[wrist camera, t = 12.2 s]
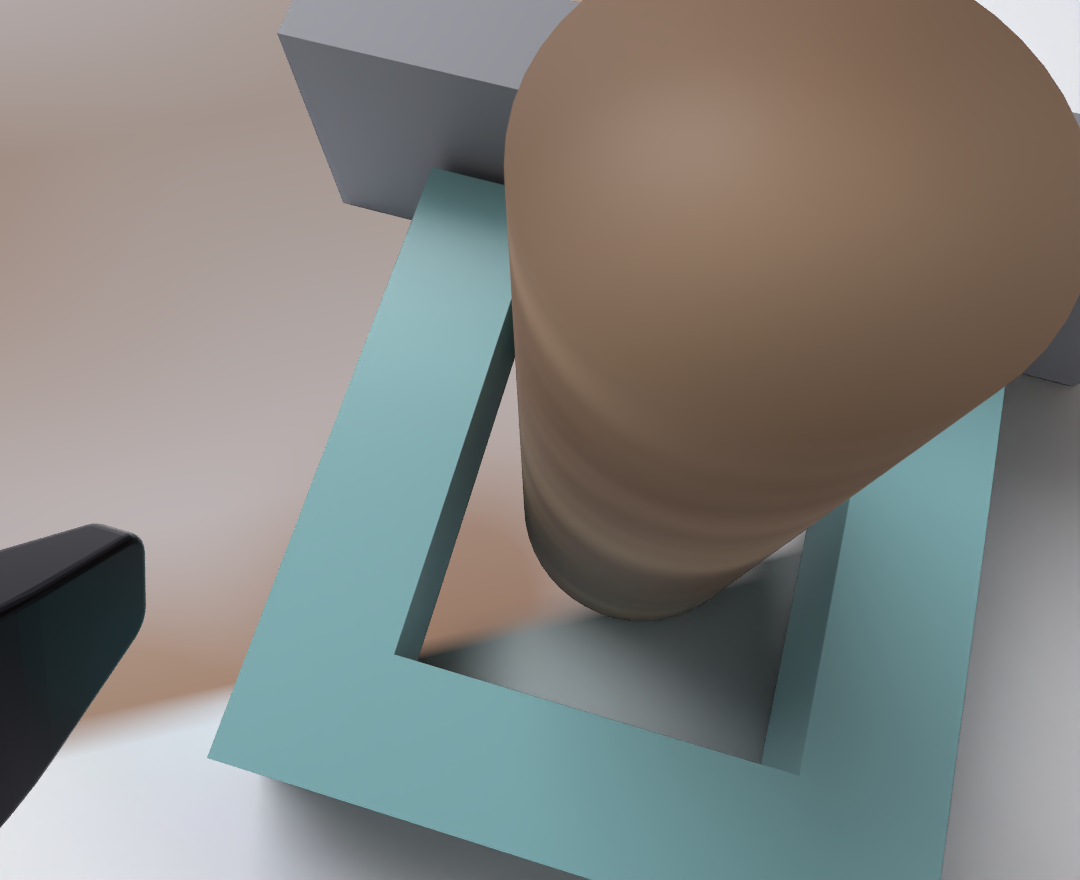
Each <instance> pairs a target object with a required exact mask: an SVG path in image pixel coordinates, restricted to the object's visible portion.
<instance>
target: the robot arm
mask: <svg viewBox="0 0 1080 880" xmlns="http://www.w3.org/2000/svg"><path fill="white" fill-rule="evenodd" d="M145 609H146V593H145V550H144V545H143V543H142V540H141V539H140V538H139V537H138V536H137V535H135V534H133V533H130V532H126V531H123V530H120V529H117V528H113V527H110V526H106V525H102V524H90V525H85V526H82V527H78V528H75V529H71V530H68V531H65V532H61V533H58V534H54V535H51V536H47V537H44V538H40V539H37V540H34V541H30V542H27V543H24V544H20V545H17V546H13V547H10V548H6V549H3V550H0V828H1V826H2V825H3V824H4V823H5V822H6V820H7V819H8V818H9V817H10V816H11V814H12V813H13V812H14V811H15V810H16V808H17V807H18V806H19V804H20V803H21V802H22V801H23V799H24V798H25V797H26V796H27V794H28V793H29V792H30V791H31V789H32V788H33V787H34V786H35V784H36V783H37V781H38V780H39V779H40V777H41V776H42V774H43V773H44V772H45V770H46V769H47V767H48V766H49V765H50V763H51V762H52V760H53V759H54V758H55V756H56V755H57V753H58V752H59V750H60V749H61V747H62V746H63V744H64V743H65V741H66V740H67V738H68V737H69V735H70V734H71V732H72V731H73V729H74V728H75V726H76V725H77V723H78V722H79V721H80V719H81V718H82V716H83V715H84V713H85V712H86V710H87V709H88V707H89V706H90V704H91V702H92V701H93V700H94V698H95V697H96V695H97V694H98V692H99V691H100V689H101V688H102V686H103V685H104V683H105V682H106V680H107V679H108V677H109V676H110V674H111V673H112V671H113V670H114V668H115V667H116V666H117V664H118V663H119V661H120V660H121V658H122V657H123V655H124V654H125V652H126V651H127V649H128V648H129V646H130V645H131V643H132V642H133V640H134V639H135V637H136V635H137V634H138V632H139V630H140V628H141V625H142V623H143V619H144V615H145Z"/></svg>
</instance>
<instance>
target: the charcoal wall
mask: <svg viewBox="0 0 1080 880" xmlns="http://www.w3.org/2000/svg"><path fill="white" fill-rule="evenodd" d="M578 4H580V2H576V1H571V0H293V1H292V3H291V5H290V7H289V10H288V11H287V14H286V16H285V18H284V20H283V22H282V24H281V26H280V29H279V31H278V33H277V34H278V36H279V39H280V41H281V44H282V46H283V49H284V52H285V54H286V57H287V59H288V62H289V64H290V67H291V69H292V72H293V74H294V77H295V80H296V82H297V85H298V88H299V90H300V93H301V95H302V98H303V100H304V103H305V105H306V108H307V110H308V113H309V116H310V118H311V121H312V123H313V126H314V128H315V131H316V134H317V136H318V139H319V141H320V144H321V146H322V149H323V152H324V154H325V156H326V159H327V162H328V164H329V167H330V169H331V172H332V175H333V177H334V179H335V182H336V185H337V187H338V190H339V192H340V195H341V198H342V200H343V202H344V203H347V204H350V205H354V206H358V207H362V208H366V209H370V210H374V211H378V212H382V213H386V214H390V215H394V216H398V217H402V218H406V219H410V220H412V219H413V216H414V213H415V211H416V208H417V206H418V203H419V200H420V198H421V195H422V192H423V190H424V187H425V185H426V182H427V179H428V177H429V174H430V171H431V169H432V168H436V169H440V170H445V171H449V172H453V173H457V174H461V175H465V176H469V177H473V178H477V179H481V180H485V181H489V182H494V183H498V184H502V185H505V180H504V155H505V140H506V132H507V128H508V123H509V119H510V114H511V110H512V105H513V102H514V100H515V97H516V94H517V92H518V89H519V87H520V84H521V82H522V79H523V77H524V74H525V72H526V71H527V69H528V67H529V66H530V64H531V62H532V60H533V59H534V57H535V55H536V53H537V52H538V50H539V48H540V47H541V45H542V44H543V43H544V42H545V40H546V39H547V38H548V37H549V35H550V34H551V33H552V32H553V30H554V29H555V28H556V26H557V25H558V24H559V23H560V22H561V21H562V20H563V19H564V18H565V17H566V16H567V15H568V14H569V13H570V12H571V11H572V10H573V9H574V8H575V7H576V6H577V5H578ZM1072 113H1073V112H1072ZM1073 115H1074V117H1075V119H1076V121H1077V123H1078V125H1079V128H1080V114H1077V113H1073ZM1022 374H1026V375H1030V376H1034V377H1038V378H1042V379H1046V380H1050V381H1054V382H1058V383H1062V384H1066V385H1070V386H1075V385H1077V384H1078V383H1080V295H1079V297H1078V299H1077V301H1076V303H1075V305H1074V307H1073V309H1072V311H1071V313H1070V315H1069V317H1068V319H1067V321H1066V322H1065V324H1064V325H1063V326H1062V328H1061V329H1060V331H1059V332H1058V333H1057V335H1056V336H1055V338H1054V339H1053V340H1052V342H1051V343H1050V344H1049V346H1048V347H1047V349H1046V350H1045V351H1044V352H1043V353H1042V354H1041V355H1040V356H1039V357H1038V358H1037V359H1036V360H1035V361H1034V362H1033V363H1032V364H1031V365H1030V366H1029V367H1028V368H1027V369H1026V370H1025V371H1024V372H1023V373H1022Z"/></svg>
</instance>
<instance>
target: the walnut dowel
mask: <svg viewBox="0 0 1080 880" xmlns="http://www.w3.org/2000/svg"><path fill="white" fill-rule="evenodd" d="M504 180H505V197H506V213H507V230H508V246H509V263H510V279H511V296H512V312H513V329H514V345H515V362H516V378H517V394H518V411H519V427H520V444H521V459H522V460H521V461H522V478H523V493H524V510H525V521H526V527H527V531H528V536H529V539H530V542H531V544H532V547H533V550H534V552H535V554H536V555H537V557H538V560H539V561H540V563H541V565H542V567H543V568H544V569H545V571H546V572H547V573H548V575H549V576H550V577H551V579H552V580H553V581H554V582H555V583H556V584H557V585H558V586H559V587H560V588H561V589H562V590H563V591H564V592H565V593H567V594H568V595H569V596H570V597H571V598H573V599H574V600H576V601H578V602H579V603H581V604H582V605H584V606H586V607H588V608H590V609H592V610H594V611H596V612H598V613H601V614H604V615H607V616H611V617H614V618H619V619H625V620H633V621H651V620H661V619H665V618H670V617H674V616H677V615H680V614H683V613H685V612H688V611H690V610H692V609H694V608H696V607H698V606H699V605H701V604H703V603H704V602H706V601H707V600H709V599H710V598H711V597H713V596H714V595H716V594H717V593H718V592H720V591H721V590H723V589H724V588H725V587H727V586H728V585H730V584H731V583H732V582H734V581H735V580H736V579H738V578H739V577H741V576H742V575H743V574H745V573H746V572H748V571H749V570H750V569H752V568H753V567H755V566H756V565H757V564H759V563H760V562H762V561H763V560H764V559H766V558H767V557H769V556H770V555H771V554H773V553H774V552H775V551H777V550H778V549H780V548H781V547H782V546H784V545H785V544H787V543H788V542H789V541H791V540H792V539H794V538H795V537H796V536H798V535H799V534H801V533H802V532H803V531H805V530H806V529H808V528H809V527H810V526H812V525H813V524H814V523H816V522H817V521H819V520H820V519H821V518H823V517H824V516H826V515H827V514H828V513H830V512H831V511H833V510H834V509H835V508H837V507H838V506H840V505H841V504H842V503H844V502H845V501H847V500H848V499H849V498H851V497H852V496H853V495H855V494H856V493H858V492H859V491H860V490H862V489H863V488H865V487H866V486H867V485H869V484H870V483H872V482H873V481H874V480H876V479H877V478H879V477H880V476H881V475H883V474H884V473H886V472H887V471H888V470H890V469H891V468H892V467H894V466H895V465H897V464H898V463H899V462H901V461H902V460H904V459H905V458H906V457H908V456H909V455H911V454H912V453H913V452H915V451H916V450H918V449H919V448H920V447H922V446H923V445H924V444H926V443H927V442H929V441H930V440H931V439H933V438H934V437H936V436H937V435H938V434H940V433H941V432H943V431H944V430H945V429H947V428H948V427H950V426H951V425H952V424H954V423H955V422H957V421H958V420H959V419H961V418H962V417H963V416H965V415H966V414H968V413H969V412H970V411H972V410H973V409H975V408H976V407H977V406H979V405H980V404H982V403H983V402H984V401H986V400H987V399H989V398H990V397H991V396H993V395H994V394H995V393H997V392H998V391H999V390H1001V389H1002V388H1004V387H1005V386H1006V385H1008V384H1009V383H1010V382H1012V381H1013V380H1014V379H1016V378H1017V377H1018V376H1020V375H1021V374H1022V373H1023V372H1024V371H1025V370H1026V369H1027V368H1028V367H1029V366H1030V365H1031V364H1032V363H1033V362H1034V361H1035V360H1036V359H1037V358H1038V357H1039V356H1040V355H1041V354H1042V353H1043V352H1044V351H1045V350H1046V349H1047V347H1048V346H1049V344H1050V343H1051V342H1052V340H1053V339H1054V338H1055V336H1056V335H1057V333H1058V332H1059V331H1060V329H1061V328H1062V326H1063V325H1064V324H1065V322H1066V321H1067V319H1068V317H1069V315H1070V313H1071V311H1072V309H1073V307H1074V305H1075V303H1076V301H1077V299H1078V297H1079V295H1080V128H1079V125H1078V123H1077V121H1076V119H1075V117H1074V115H1073V113H1072V111H1071V109H1070V107H1069V105H1068V103H1067V101H1066V99H1065V97H1064V95H1063V94H1062V92H1061V91H1060V89H1059V88H1058V86H1057V85H1056V83H1055V82H1054V80H1053V79H1052V77H1051V76H1050V74H1049V73H1048V71H1047V70H1046V68H1045V67H1044V65H1043V64H1042V63H1041V62H1040V61H1039V60H1038V58H1037V57H1036V56H1035V55H1034V54H1033V53H1032V51H1031V50H1030V49H1029V48H1028V47H1027V46H1026V44H1025V43H1024V42H1023V41H1022V40H1021V39H1020V38H1019V37H1018V36H1017V35H1016V34H1015V33H1014V32H1013V31H1011V30H1010V29H1009V28H1008V27H1007V26H1006V25H1005V24H1004V23H1003V22H1002V21H1001V20H1000V19H998V18H997V17H996V16H995V15H994V14H992V13H991V12H990V11H988V10H987V9H986V8H984V7H983V6H982V5H980V4H979V3H978V2H976V1H975V0H583V1H582V2H581V3H580V4H578V5H577V6H576V7H575V8H574V9H573V10H572V11H571V12H570V13H569V14H568V15H567V16H566V17H565V18H564V19H563V20H562V21H561V22H560V23H559V24H558V25H557V26H556V28H555V29H554V30H553V32H552V33H551V34H550V35H549V37H548V38H547V39H546V40H545V42H544V43H543V44H542V45H541V47H540V48H539V50H538V52H537V53H536V55H535V57H534V59H533V60H532V62H531V64H530V66H529V67H528V69H527V71H526V72H525V74H524V77H523V79H522V82H521V84H520V87H519V89H518V92H517V94H516V97H515V100H514V102H513V105H512V110H511V114H510V119H509V123H508V128H507V132H506V140H505V155H504Z"/></svg>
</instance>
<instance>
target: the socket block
mask: <svg viewBox="0 0 1080 880" xmlns="http://www.w3.org/2000/svg"><path fill="white" fill-rule="evenodd" d="M514 358H515V345H514V329H513V312H512V296H511V279H510V263H509V246H508V230H507V213H506V197H505V185H502V184H498V183H494V182H489V181H485V180H481V179H477V178H473V177H469V176H465V175H461V174H457V173H453V172H449V171H445V170H440V169H436V168H432V169H431V171H430V174H429V177H428V179H427V182H426V185H425V187H424V190H423V192H422V195H421V198H420V200H419V203H418V206H417V208H416V211H415V213H414V216H413V219H412V222H411V224H410V227H409V229H408V232H407V234H406V237H405V240H404V243H403V245H402V248H401V250H400V253H399V256H398V258H397V261H396V263H395V266H394V269H393V271H392V274H391V277H390V279H389V282H388V285H387V287H386V290H385V292H384V295H383V298H382V300H381V303H380V306H379V308H378V311H377V313H376V316H375V319H374V321H373V324H372V327H371V329H370V332H369V335H368V337H367V339H366V342H365V345H364V347H363V350H362V353H361V355H360V358H359V360H358V363H357V366H356V368H355V371H354V374H353V376H352V379H351V382H350V384H349V387H348V390H347V392H346V395H345V397H344V400H343V403H342V405H341V408H340V410H339V413H338V416H337V419H336V421H335V424H334V426H333V429H332V431H331V434H330V437H329V439H328V442H327V445H326V447H325V450H324V452H323V455H322V458H321V460H320V463H319V466H318V468H317V471H316V473H315V476H314V479H313V482H312V484H311V487H310V489H309V492H308V494H307V497H306V500H305V502H304V505H303V508H302V510H301V513H300V515H299V519H298V521H297V524H296V526H295V529H294V532H293V534H292V536H291V539H290V542H289V544H288V547H287V550H286V552H285V555H284V557H283V560H282V563H281V565H280V568H279V571H278V574H277V576H276V578H275V581H274V584H273V586H272V589H271V592H270V594H269V597H268V599H267V603H266V605H265V607H264V610H263V613H262V615H261V618H260V620H259V623H258V626H257V628H256V631H255V634H254V636H253V639H252V641H251V644H250V647H249V649H248V652H247V655H246V657H245V660H244V663H243V665H242V668H241V670H240V673H239V676H238V679H237V681H236V683H235V686H234V689H233V691H232V694H231V697H230V699H229V702H228V704H227V707H226V710H225V712H224V715H223V718H222V720H221V723H220V725H219V728H218V731H217V733H216V736H215V739H214V741H213V744H212V746H211V749H210V752H209V754H208V757H207V758H209V759H213V760H216V761H219V762H222V763H225V764H228V765H231V766H235V767H238V768H241V769H244V770H247V771H250V772H253V773H257V774H260V775H263V776H266V777H269V778H272V779H275V780H279V781H282V782H285V783H288V784H291V785H294V786H298V787H301V788H304V789H307V790H310V791H313V792H316V793H320V794H323V795H326V796H329V797H332V798H335V799H338V800H342V801H345V802H348V803H351V804H354V805H357V806H360V807H364V808H367V809H370V810H373V811H376V812H379V813H382V814H386V815H389V816H392V817H395V818H398V819H401V820H405V821H408V822H411V823H414V824H417V825H420V826H423V827H427V828H430V829H433V830H436V831H439V832H442V833H445V834H449V835H452V836H455V837H458V838H461V839H464V840H467V841H471V842H474V843H477V844H480V845H483V846H486V847H489V848H493V849H496V850H499V851H502V852H505V853H508V854H511V855H515V856H518V857H521V858H524V859H527V860H530V861H534V862H537V863H540V864H543V865H546V866H549V867H552V868H556V869H559V870H562V871H565V872H568V873H571V874H574V875H578V876H581V877H584V878H587V879H590V880H940V879H941V871H942V864H943V856H944V849H945V841H946V833H947V826H948V818H949V810H950V803H951V795H952V788H953V780H954V772H955V765H956V757H957V749H958V742H959V734H960V727H961V719H962V711H963V704H964V696H965V688H966V681H967V673H968V666H969V658H970V650H971V643H972V635H973V627H974V620H975V612H976V605H977V597H978V589H979V582H980V574H981V567H982V559H983V551H984V544H985V536H986V528H987V521H988V513H989V506H990V498H991V490H992V483H993V475H994V467H995V460H996V452H997V445H998V437H999V429H1000V422H1001V414H1002V406H1003V399H1004V391H1005V387H1004V388H1002V389H1001V390H999V391H998V392H997V393H995V394H994V395H993V396H991V397H990V398H989V399H987V400H986V401H984V402H983V403H982V404H980V405H979V406H977V407H976V408H975V409H973V410H972V411H970V412H969V413H968V414H966V415H965V416H963V417H962V418H961V419H959V420H958V421H957V422H955V423H954V424H952V425H951V426H950V427H948V428H947V429H945V430H944V431H943V432H941V433H940V434H938V435H937V436H936V437H934V438H933V439H931V440H930V441H929V442H927V443H926V444H924V445H923V446H922V447H920V448H919V449H918V450H916V451H915V452H913V453H912V454H911V455H909V456H908V457H906V458H905V459H904V460H902V461H901V462H899V463H898V464H897V465H895V466H894V467H892V468H891V469H890V470H888V471H887V472H886V473H884V474H883V475H881V476H880V477H879V478H877V479H876V480H874V481H873V482H872V483H870V484H869V485H867V486H866V487H865V488H863V489H862V490H860V491H859V492H858V493H856V494H855V495H853V496H852V497H851V498H849V499H848V500H847V501H845V502H844V503H842V504H841V505H840V506H838V507H837V508H835V509H834V510H833V511H831V512H830V513H828V514H827V515H826V516H824V517H823V518H821V519H820V520H819V521H817V522H816V523H814V524H813V525H812V526H810V527H809V528H808V529H807V531H806V536H805V541H804V546H803V551H802V556H801V561H800V567H799V572H798V577H797V582H796V587H795V592H794V597H793V602H792V607H791V613H790V618H789V623H788V628H787V633H786V638H785V643H784V648H783V653H782V658H781V664H780V669H779V674H778V679H777V684H776V689H775V694H774V699H773V704H772V709H771V715H770V720H769V725H768V730H767V735H766V740H765V745H764V750H763V755H762V760H761V764H758V763H755V762H752V761H748V760H745V759H742V758H738V757H735V756H732V755H728V754H725V753H722V752H718V751H715V750H712V749H708V748H705V747H702V746H698V745H695V744H692V743H688V742H685V741H682V740H678V739H675V738H672V737H668V736H665V735H662V734H658V733H655V732H651V731H648V730H645V729H641V728H638V727H635V726H631V725H628V724H625V723H621V722H618V721H615V720H611V719H608V718H605V717H601V716H598V715H595V714H591V713H588V712H585V711H581V710H578V709H575V708H571V707H568V706H565V705H561V704H558V703H555V702H551V701H548V700H545V699H541V698H538V697H535V696H531V695H528V694H525V693H521V692H518V691H515V690H511V689H508V688H505V687H501V686H498V685H495V684H491V683H488V682H485V681H481V680H478V679H475V678H471V677H468V676H465V675H461V674H458V673H455V672H451V671H448V670H445V669H441V668H438V667H435V666H431V665H428V664H425V663H421V662H418V661H417V660H418V657H419V654H420V651H421V648H422V645H423V642H424V639H425V636H426V632H427V629H428V626H429V623H430V620H431V617H432V614H433V610H434V608H435V604H436V601H437V598H438V595H439V592H440V589H441V586H442V582H443V580H444V576H445V573H446V570H447V567H448V564H449V560H450V558H451V555H452V552H453V548H454V545H455V542H456V539H457V536H458V533H459V529H460V527H461V524H462V520H463V517H464V514H465V511H466V508H467V505H468V502H469V499H470V495H471V492H472V489H473V486H474V483H475V480H476V477H477V474H478V470H479V467H480V464H481V461H482V458H483V455H484V452H485V449H486V446H487V443H488V439H489V436H490V433H491V430H492V427H493V424H494V421H495V417H496V414H497V411H498V408H499V405H500V402H501V399H502V395H503V393H504V389H505V386H506V383H507V380H508V377H509V374H510V371H511V367H512V364H513V362H514Z"/></svg>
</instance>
